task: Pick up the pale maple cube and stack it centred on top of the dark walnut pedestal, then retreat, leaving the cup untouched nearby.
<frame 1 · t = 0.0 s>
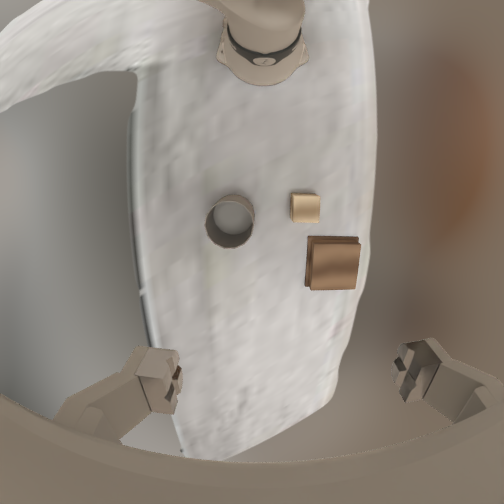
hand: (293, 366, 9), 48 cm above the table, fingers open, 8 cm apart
cup: (233, 214, 56), on the table
walnut pedestal: (331, 261, 58), on the table
maple cube: (302, 205, 55), on the table
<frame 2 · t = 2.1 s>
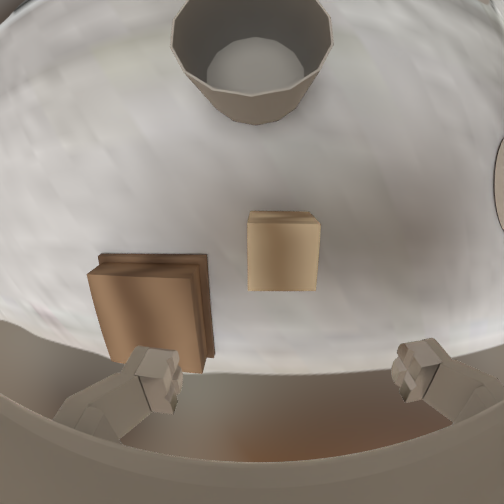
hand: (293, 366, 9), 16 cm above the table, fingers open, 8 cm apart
cup: (255, 79, 20), on the table
walnut pedestal: (157, 306, 26), on the table
maple cube: (279, 239, 24), on the table
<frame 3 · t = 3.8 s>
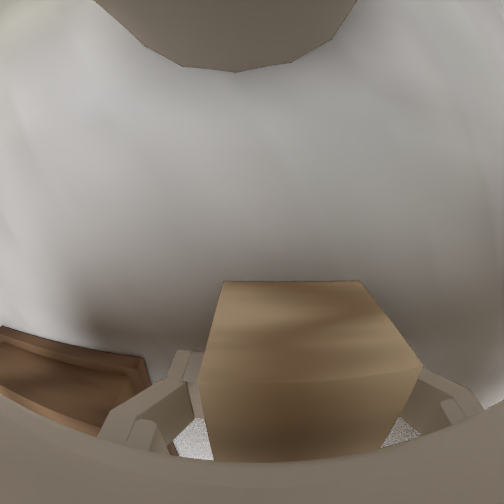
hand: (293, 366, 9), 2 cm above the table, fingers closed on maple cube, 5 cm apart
walnut pedestal: (87, 409, 13), on the table
maple cube: (289, 338, 10), on the table, touching gripper
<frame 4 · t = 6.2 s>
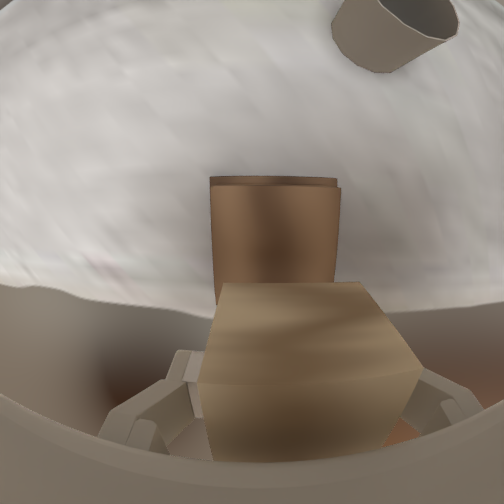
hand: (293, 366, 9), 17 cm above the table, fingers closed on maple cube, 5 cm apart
cup: (370, 39, 19), on the table
walnut pedestal: (273, 236, 25), on the table
maple cube: (289, 340, 10), point 16 cm above the table, touching gripper
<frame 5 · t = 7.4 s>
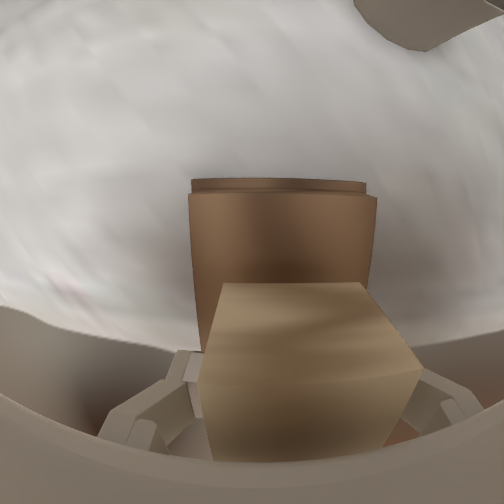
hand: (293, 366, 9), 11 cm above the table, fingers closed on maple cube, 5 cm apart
cup: (398, 11, 12), on the table
walnut pedestal: (278, 260, 19), on the table
maple cube: (289, 340, 10), point 9 cm above the table, touching gripper
when the fingers open (7 cm above the table, at t = 8.5 s): maple cube drops 1 cm, resting on walnut pedestal.
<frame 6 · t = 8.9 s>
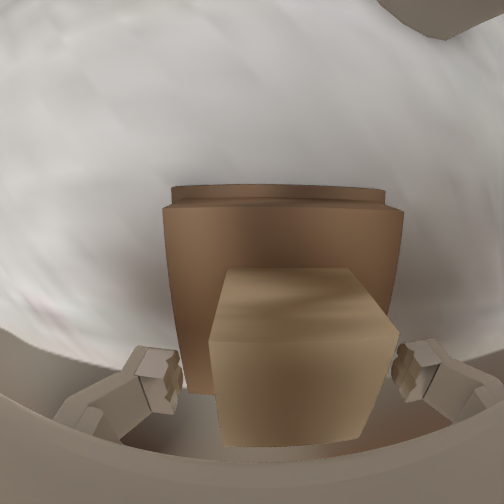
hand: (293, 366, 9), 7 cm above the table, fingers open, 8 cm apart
walnut pedestal: (278, 283, 16), on the table
maple cube: (286, 320, 12), point 4 cm above the table, touching walnut pedestal
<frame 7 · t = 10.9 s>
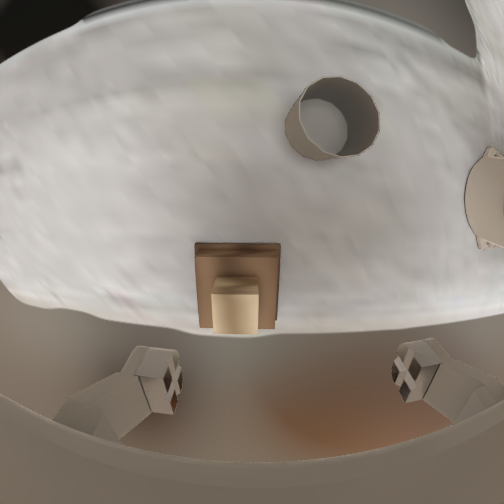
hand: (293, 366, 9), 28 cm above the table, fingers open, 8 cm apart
cup: (316, 129, 32), on the table
walnut pedestal: (237, 282, 38), on the table
maple cube: (237, 295, 34), point 4 cm above the table, touching walnut pedestal
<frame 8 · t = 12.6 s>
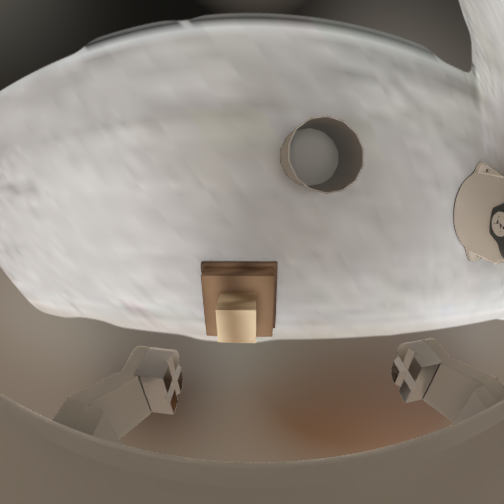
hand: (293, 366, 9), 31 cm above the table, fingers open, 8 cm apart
cup: (309, 156, 36), on the table
walnut pedestal: (239, 295, 43), on the table
maple cube: (238, 307, 39), point 4 cm above the table, touching walnut pedestal
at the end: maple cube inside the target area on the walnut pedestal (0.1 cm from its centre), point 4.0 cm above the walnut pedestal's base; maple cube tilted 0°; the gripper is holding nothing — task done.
